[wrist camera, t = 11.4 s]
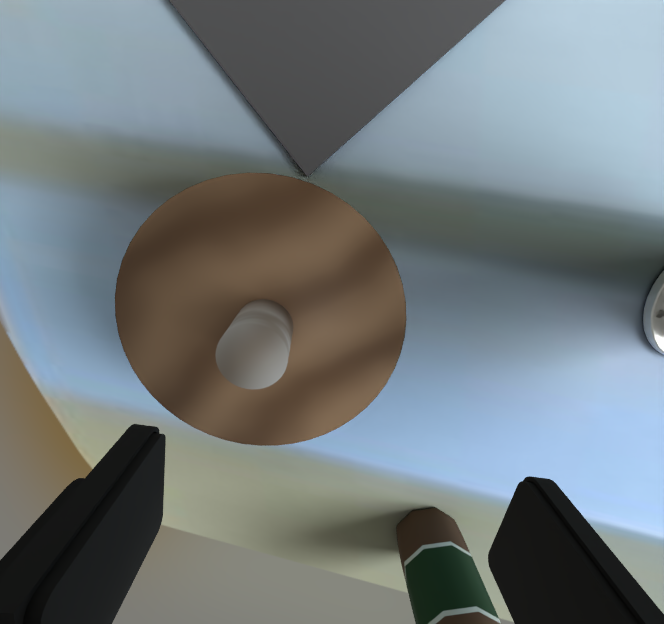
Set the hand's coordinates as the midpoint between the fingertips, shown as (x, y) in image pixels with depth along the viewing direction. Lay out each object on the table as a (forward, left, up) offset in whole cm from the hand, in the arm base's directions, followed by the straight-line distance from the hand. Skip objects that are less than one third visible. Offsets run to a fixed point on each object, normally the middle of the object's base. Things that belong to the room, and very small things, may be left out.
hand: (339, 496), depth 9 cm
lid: (+2, +4, -17) cm, 17 cm away
